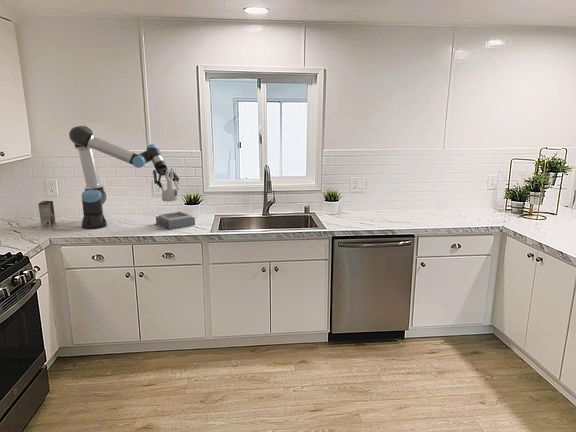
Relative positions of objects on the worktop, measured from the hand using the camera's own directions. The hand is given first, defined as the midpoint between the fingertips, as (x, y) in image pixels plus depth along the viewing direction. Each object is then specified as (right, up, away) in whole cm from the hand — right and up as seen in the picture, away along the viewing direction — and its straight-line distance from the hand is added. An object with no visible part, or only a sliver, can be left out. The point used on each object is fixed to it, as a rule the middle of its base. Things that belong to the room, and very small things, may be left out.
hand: (171, 190), depth 283 cm
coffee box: (-81, -24, -1) cm, 84 cm away
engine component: (-2, -6, +4) cm, 8 cm away
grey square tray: (+1, -23, +8) cm, 24 cm away
